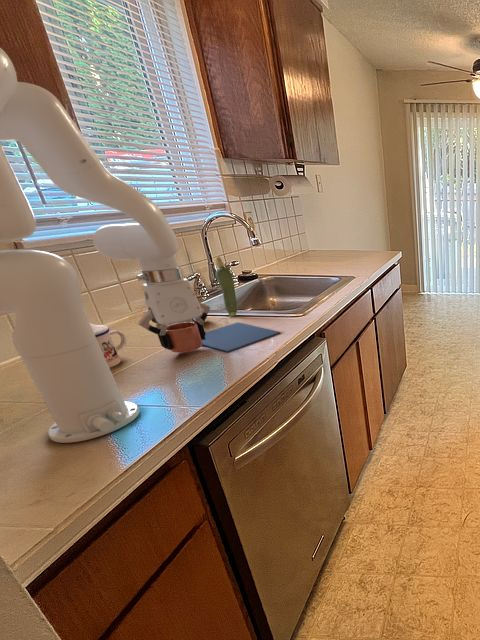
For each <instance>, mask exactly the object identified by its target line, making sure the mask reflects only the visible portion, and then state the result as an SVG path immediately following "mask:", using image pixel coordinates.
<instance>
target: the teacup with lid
mask: <svg viewBox="0 0 480 640" xmlns="http://www.w3.org/2000/svg"><path fill="white" fill-rule="evenodd" d="M90 325H91V327H92V330H93V332H94V334H95V337H96V339H97V341H98V343H99V346H100V348H101V350H102V352H103V355H104V357H105V359H106V361H107V364H108V366H109V368H110V369H111V368H114V367H115V366H118V365H119V364H120V363H121V361H122V359H121V356H120V354H119V352H118V351H120V350H122V349H123V348H124V347H125V346H126V343H127V337H126V335H125V333H124V332H122V331H121V330H110V328H109V327H108V326H107V325H103V324H93V323H90ZM116 334H117V335H119V336H120V343H119V344H118V345H117V346H116V345H115V342H114V340H113V337H112V335H116Z"/></svg>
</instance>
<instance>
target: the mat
mask: <svg viewBox="0 0 480 640" xmlns="http://www.w3.org/2000/svg"><path fill="white" fill-rule="evenodd" d="M205 334H206V335H205V338H206V339H205V340H202V342H203V344H202V347H207V348H210V349H213V350H214V349H215V350H217V351H220V352H224V353H231V352H234V351H236V350H238V349H241V348H243V347H246V346H249V345H253V344H254V343H257V342H260V341H263V340H266V339H269V338H271V337H274V336H276V335H279V334H281V331H277V330H273V329H269V328H263V327H259V326H255V325H251V324H247V323H242V322H235V323H232V324H231V323H230V324H228V325H226V326H221V327H218V328H216V329H213V330H209V331H205Z"/></svg>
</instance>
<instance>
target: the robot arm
mask: <svg viewBox="0 0 480 640" xmlns="http://www.w3.org/2000/svg"><path fill="white" fill-rule="evenodd" d="M1 141H17V142H18V143H20V144H21V145H22V146H23V148H24V149H25V150H26V151H27V153H29V155H30V156H31V158H32V159H34V161H35V162H36V163H37V165H38V166H39V167H40V169H42V171H43V172H44V173H45V174H46V176H47V178H48V179H50V181H51V182H52V183H53V184H54V186H55V187H57V188H58V189H59V190H60V191H62V192H64V193H67V194H69V195H71V196H75V197H78V198H81V199H84V200H87V201H90V202H93V203H97V204H100V205H103V206H106V207H109V208H112V209H114V210H117V211H118V212H121V213H123V214H124V215H126V216H128V217H129V218H131V219H132V220H134V221H135V223H124V224H123V223H121V224H107V225H103V226H101V227H99V228H97V229H96V231H95V232H94V233H93V235H92V236H93V237H92V242H93V246H94V249H95V250H96V251H97V252H98V253H99V254H100V255H101V256H103V257H105V258H107V259H110V260H114V261H138V265H139V268H140V273H139V274H136V279H137V281H139V282H140V281H143V282H144V283H143V286H142V288H143V296H144V301H145V306H146V310H147V311H146V312H145V313H144V315H143V316H142V317H141V318H140V319H139V320H138V322H137V324H138V325H139V326H140V327H141V328H144V329H145V330H147V331H149V332H151V333H153V334H155V335H157V337H158V340H159V342H160V345H161V347H162V348H164V349H165V350H168V351H171V350H172V349H173V345H172V342H171V339H170V336H169V335H168V334H166V330H167V327H168V326H169V325H170V324H174V323H178V322H182V321H186V320H190V319H191V320H192V321H193V322H195V323H197V326H198V329H199V332H200V336H201V339H202V340H205V339H206V338H205V335H206V334H205V333H206V331H205V328H204V324H205V321H206V320H207V317H208V314H209V313H210V310H211V306H209V305H206V304H204V303H202V302H200V301H199V300H198V297H197V294H196V292H195V290H194V288H193V286H192V284H191V282H190V281H189V278H186V277H185V278H184V276H183V273H182V269H181V267H180V264H179V260H178V257H177V254H176V253H177V252H178V249H179V243H178V242H179V241H178V238H177V236H176V234H175V232H174V230H173V228H172V226H171V224H170V223H169V221H168V220H167V218H166V216H165V215H164V213H163V212H162V210H161V209H160V208H159V206H157V204H156V203H155V202H154V201H153V200H151V199H150V198H149V197H148V196H147V195H145V194H143V192H141V191H139V190H138V189H136V188H135V187H134V186H132V185H130V184H129V183H127V182H126V181H124V180H122V179H120V178H118V177H117V176H115V175H113V174H112V173H111V172H110V171H109V170H108V169H107V168H106V167H105V165H104V163H103V162H102V161H101V159H100V157H99V156H98V155H97V153H96V152H95V151H94V149H93V147H91V144H90V143H89V141H88V140H87V139H86V137H85V136H84V135H83V133H82V132H81V130H80V129H79V127H78V126H77V124H76V123H75V122H74V119H72V116H70V114H69V113H68V111H67V110H66V109H65V107H64V106H63V104H62V103H61V102H60V100H59V99H58V98H57V97H56V96H55V95H54V93H52V92H50V91H49V90H47V89H46V88H44V87H42V86H39V85H37V84H33V83H30V82H24V81H18V76H17V71H16V68H15V66H14V63H13V61H12V59H11V58H10V57H9V56H8V54H7V53H6V52H5V50H3V48H2V47H0V242H2V243H3V242H14V241H20V240H22V239H26V238H29V237H30V236H32V235H33V234H34V232H35V231H36V230H37V229H36V228H37V220H36V216H35V213H34V212H33V209H32V206H31V205H30V202H29V200H28V198H27V196H26V194H25V192H24V189H23V188H22V186H21V184H20V181H19V179H18V177H17V175H16V173H15V171H14V169H13V166H12V165H11V163H10V161H9V159H8V157H7V154H6V152H5V150H4V147H3V145H2V142H1ZM4 313H6V314H15V323H14V325H13V328H12V329H13V330H12V342H13V346H14V347H15V350H16V351H17V353H18V356H19V357H20V358H21V360H22V363H23V364H24V366H25V368H26V370H27V372H28V373H29V375H30V377H31V379H32V380H33V383H34V385H35V386H36V388H37V390H38V392H39V394H40V396H41V398H42V400H43V401H44V403H45V405H46V407H47V409H48V410H49V412H50V414H51V416H52V418H53V420H54V423H53V424H52V425H51V426H50V427H49V428H48V430H47V435H48V437H49V439H50V440H51V441H52V442H55V443H59V444H60V443H61V444H71V443H78V442H84V441H85V442H86V441H88V440H93V439H97V438H99V437H103V436H105V435H108V434H110V433H114V432H115V431H117V430H120V429H121V428H123V427H125V426H127V425H129V424H130V423H132V422H133V421H134V420H135V419H136V418H137V417H138V416H139V414H140V408H139V406H138V404H136V403H135V402H132V401H127V400H124V397H123V396H122V393H121V391H120V388H119V386H118V384H117V381H116V379H115V377H114V375H113V372H112V371H111V368H109V366H108V364H107V361H106V359H105V357H104V355H103V352H102V350H101V348H100V346H99V343H98V341H97V339H96V337H95V334H94V332H93V330H92V327H91V325H90V324H91V323H90V320H89V318H88V315H87V311H86V308H85V305H84V301H83V296H82V288H81V283H80V279H79V276H78V274H77V271H76V270H75V268H74V267H73V265H72V264H71V263H69V262H68V261H67V260H66V259H64V258H63V257H61V256H59V255H56V254H55V253H51V252H47V251H42V250H36V249H3V250H1V249H0V314H4ZM150 321H151V322H152V323H154V324H155V326H154V325H152V324H150Z"/></svg>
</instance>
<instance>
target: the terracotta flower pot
mask: <svg viewBox="0 0 480 640" xmlns="http://www.w3.org/2000/svg"><path fill="white" fill-rule="evenodd" d="M166 334H168V335H169V336H170V339H171V342H172V345H173V349H172V350H170V351H171V352H172V353H178V354H179V353H187V352H192V351H195V350H197V349H200V348H201V347H203V345H202V344H203V342H202V339H201V336H200V332H199V329H198V326H197V323H195V322H183V323H176V324H172V325H168V327H167V330H166Z"/></svg>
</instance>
